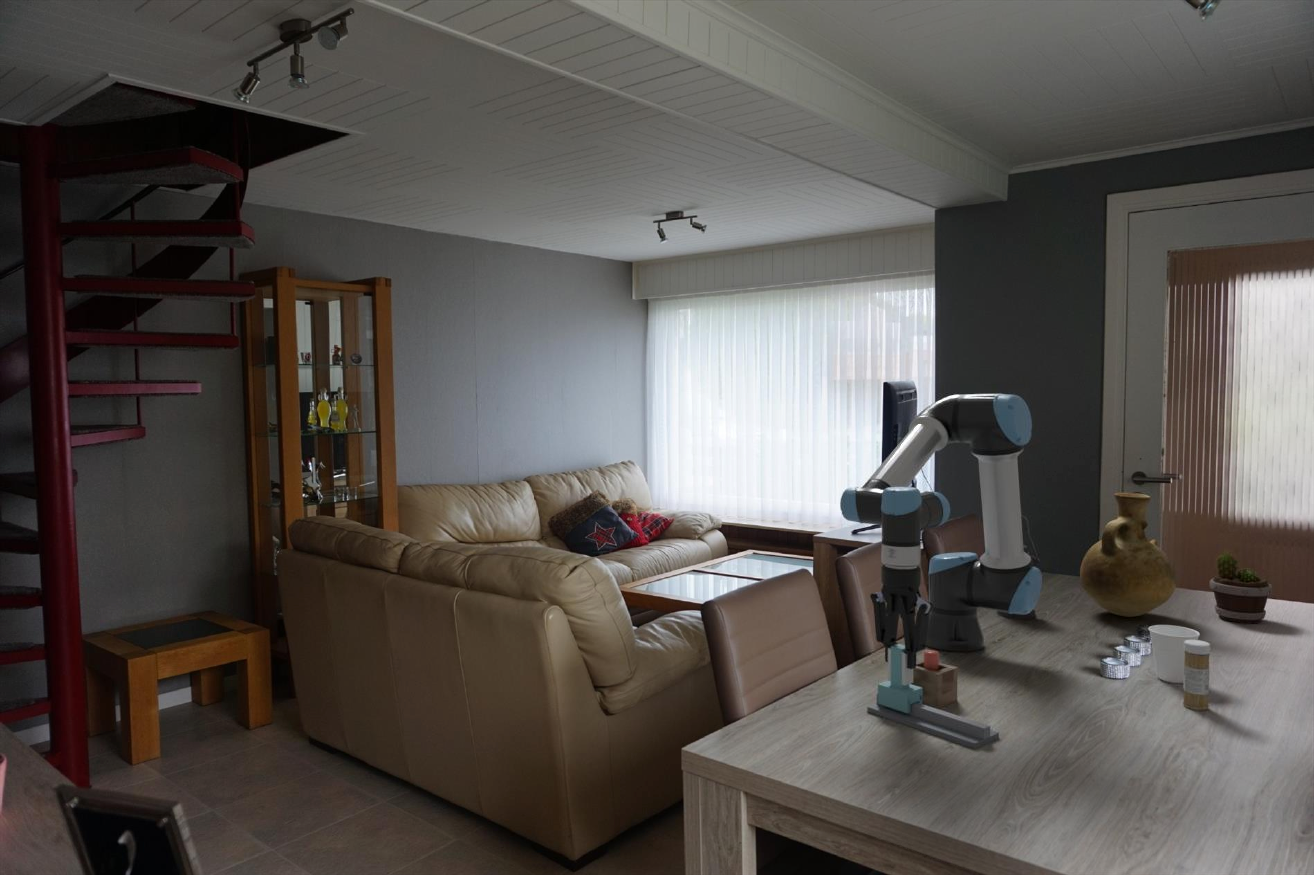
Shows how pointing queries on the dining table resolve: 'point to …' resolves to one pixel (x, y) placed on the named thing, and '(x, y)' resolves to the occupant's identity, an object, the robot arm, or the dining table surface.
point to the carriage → (898, 686)
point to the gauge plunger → (931, 660)
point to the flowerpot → (1239, 591)
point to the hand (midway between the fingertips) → (900, 681)
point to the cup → (1170, 650)
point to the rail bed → (931, 727)
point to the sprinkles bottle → (1196, 674)
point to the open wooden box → (936, 684)
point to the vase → (1128, 563)
